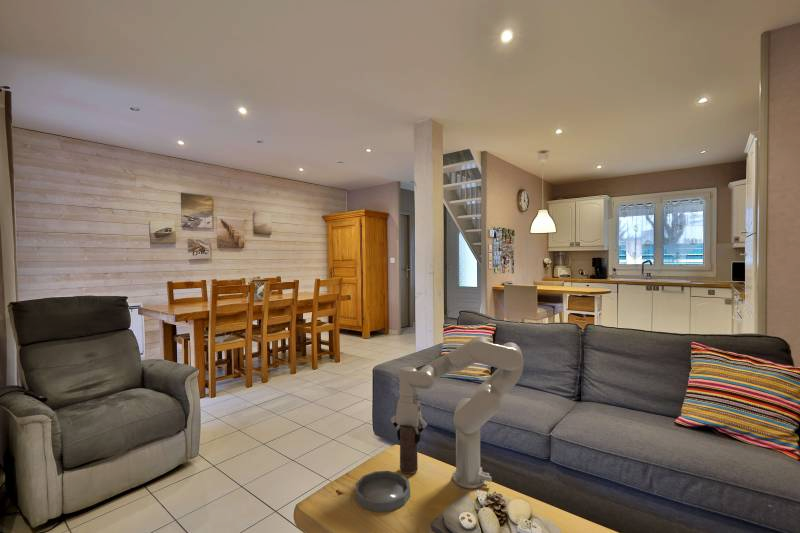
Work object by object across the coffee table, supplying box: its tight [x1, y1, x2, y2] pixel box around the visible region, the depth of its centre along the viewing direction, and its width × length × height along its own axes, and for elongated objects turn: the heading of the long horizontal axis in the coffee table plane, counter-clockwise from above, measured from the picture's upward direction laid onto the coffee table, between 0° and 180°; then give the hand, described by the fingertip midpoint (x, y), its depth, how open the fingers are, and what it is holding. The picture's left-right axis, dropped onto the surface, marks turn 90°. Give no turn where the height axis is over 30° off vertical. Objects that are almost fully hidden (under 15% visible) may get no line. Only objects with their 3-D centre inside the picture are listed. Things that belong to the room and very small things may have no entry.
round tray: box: [355, 470, 411, 513], centre depth 135 cm, size 20×20×3 cm
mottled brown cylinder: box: [399, 425, 419, 474], centre depth 150 cm, size 8×7×20 cm
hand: (408, 440), depth 150 cm, fingers closed on mottled brown cylinder, 7 cm apart
